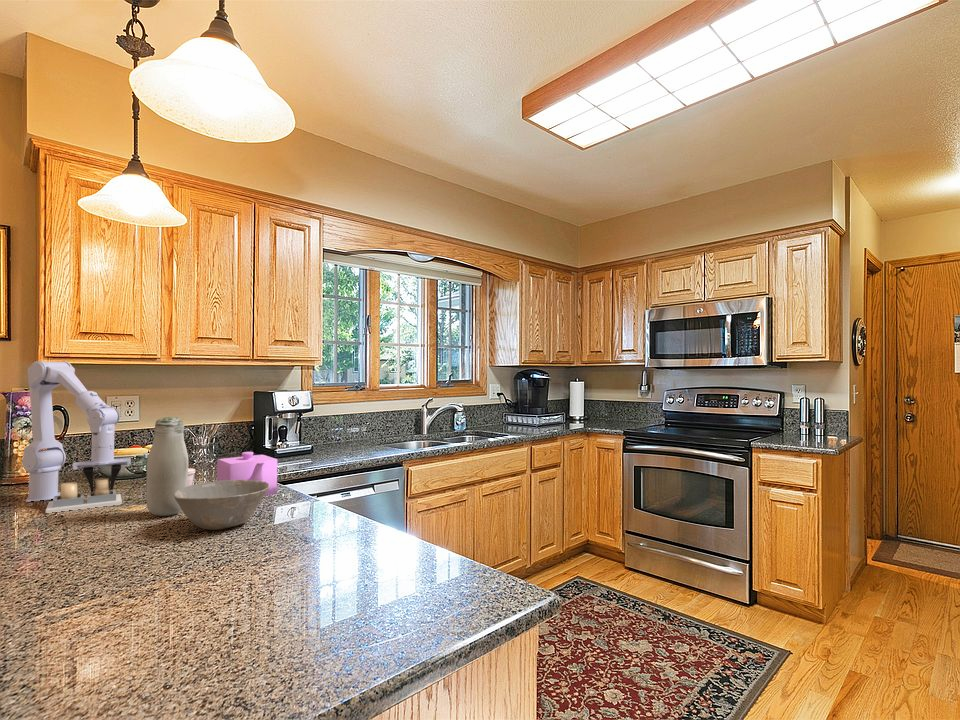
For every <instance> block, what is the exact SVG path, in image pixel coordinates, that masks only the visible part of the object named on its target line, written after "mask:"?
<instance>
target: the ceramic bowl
mask: <svg viewBox="0 0 960 720" xmlns="http://www.w3.org/2000/svg"><path fill="white" fill-rule="evenodd" d="M268 489H269V484H268V483H267V482H262V481H257V480H249V481H248V480H223V481H217V480H216V481H206V482H201V483H195V484H193V485H190V486H187V487H184V488H181V489H179V490H177V491H176V492H175V493H174V498H175V500H176V501H177V503H178V504H179V506H180V508H181V511H182V513H183V515H184V516H185V517H186V518H187V519H188V520H189V521H190V522H191V523H193V524H194V525H195V526H196V527H198V528H201V529H203V530H206V531H207V530H208V531H219V530H224V529H226V530H227V529H229V528H233V527H237V526H241V525H243V524H244V523H245V522H247V521H249V519H251V517H252V516H253V514H254V512H255V511H256V509H257V508H258V506H259V505H260V502H262V500H263V498H264V497H265V496H266V495H265V493H266V492H267V490H268Z"/></svg>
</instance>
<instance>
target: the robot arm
mask: <svg viewBox="0 0 960 720" xmlns="http://www.w3.org/2000/svg"><path fill="white" fill-rule="evenodd" d="M27 379H28V381H27V382H28V388H29V400H30V416H31V417H30V418H31V432H32V442H31V443H29V444H28V445H27V446H25V447H24V448H23V456H22V460H21V464H22V468H23V469H24V470H25V471H26V473H28V475H29V476H28V496H27V498H26V499H25V503H32V502H31V501H34V502H41V501H40V500H44V501H51V499H54V496H60V495H61V491H59V471H60V470H61V469H62V467H63V465H65V462H66V459H67V456H66V452H65V450H64V447H63V445H64V444H63V443H62V442H60V441H59V440H57V439H55V426H54V424H55V423H54V411H53V410H54V409H53V395H52V394H53V392H52V391H53V390H55V389H56V388H57V387H59V386H61V385H62V387H64V388H65V389H66V390H67V391H68V392H69V393H71V395H73V396H74V397H75V403H76V405H77V406H78V407H79V408H80V409H81V410H82V411H83V412H84V414H85V415H86V416H87V418H86V421H87V424H88V425H89V431H90V433H91V456H90V457H91V458H90V459H91V460H85V461H78V462H77V461H76V462H73V463H72V470H74V471H75V470H81V469H82V472H83V475H85V478H86V479H87V482H88V485H89V487H90V488H89V489H90V492H94V468H105V467H106V468H107V467H110V468H111V469H110V474H111V475H110V490H114V486H115V481H116V479H117V477H118V475H119V473H120V472H121V469H122V466H131V465H132V464H131V463H132V461H131V460H132V458H130V457H129V458H128V457H126V458H115V434H116V433H115V430H116V429H115V425H117V424H118V423H119V421H120V418H121V415H120V412H119V410H118V408H117V407H115V406H110V405H108V404H107V403H105V401H104V400H102V398H101V397H100V396H98V393H97V392H96V391H93V390H88V389H87V387H85V385H84V384H83V383H82V382H81V380H80V379H79V378H78V377H77V376H76V369H75V367H73V366H72V364H71V363H70V362H69V361H42V360H35V361H34V362H33V363H32V364H31V365H30V366H29V367H28V368H27Z"/></svg>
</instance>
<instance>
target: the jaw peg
mask: <svg viewBox="0 0 960 720" xmlns="http://www.w3.org/2000/svg"><path fill="white" fill-rule="evenodd" d="M110 483H111V477H103V478H102V477H100V478H99V477H98V478H95V479H93V485H94V496H98V495H107V494H110Z"/></svg>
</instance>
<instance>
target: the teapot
mask: <svg viewBox="0 0 960 720" xmlns="http://www.w3.org/2000/svg"><path fill="white" fill-rule="evenodd" d="M241 455H242V456H235V457H225V458H218V459H217V461H216V462H217V463H216V464H217V466H216V467H217V468H216V469H217V470H216V481H223V480H248V481H249V480H257V481H262V482H267V483H268V484H269V489H268V490H267V492H266V493H265V495H264V496H268V495H276V494H277V493H278V458H275V457H271V456H268V455H265V454H254V452H253V451H243V452H241Z"/></svg>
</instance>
